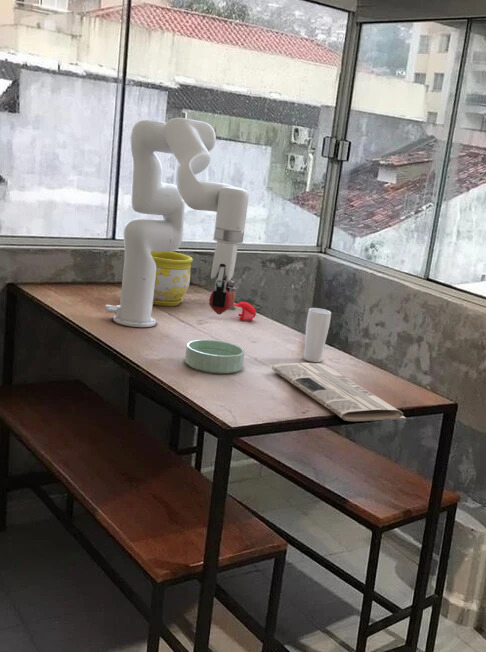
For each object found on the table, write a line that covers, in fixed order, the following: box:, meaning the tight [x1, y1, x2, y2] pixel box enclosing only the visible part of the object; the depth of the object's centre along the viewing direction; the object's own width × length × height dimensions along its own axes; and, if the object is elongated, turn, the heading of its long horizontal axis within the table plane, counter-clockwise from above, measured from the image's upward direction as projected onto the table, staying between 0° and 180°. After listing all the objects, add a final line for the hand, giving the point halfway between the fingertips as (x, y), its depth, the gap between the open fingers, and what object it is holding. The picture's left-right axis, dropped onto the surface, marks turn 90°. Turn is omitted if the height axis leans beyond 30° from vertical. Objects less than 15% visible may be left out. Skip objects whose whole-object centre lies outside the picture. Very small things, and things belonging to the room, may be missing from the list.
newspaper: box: [271, 362, 407, 422], centre depth 208 cm, size 37×19×3 cm, turn 31°
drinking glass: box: [303, 307, 332, 363], centre depth 236 cm, size 7×7×15 cm
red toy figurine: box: [234, 301, 257, 322], centre depth 273 cm, size 8×6×6 cm
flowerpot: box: [151, 251, 194, 307], centre depth 278 cm, size 18×18×16 cm
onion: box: [208, 290, 232, 315], centre depth 212 cm, size 6×6×8 cm
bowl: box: [184, 339, 246, 375], centre depth 215 cm, size 15×15×5 cm
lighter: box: [227, 278, 238, 310], centre depth 288 cm, size 8×3×10 cm, turn 58°
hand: (220, 303), depth 212 cm, fingers closed on onion, 6 cm apart
